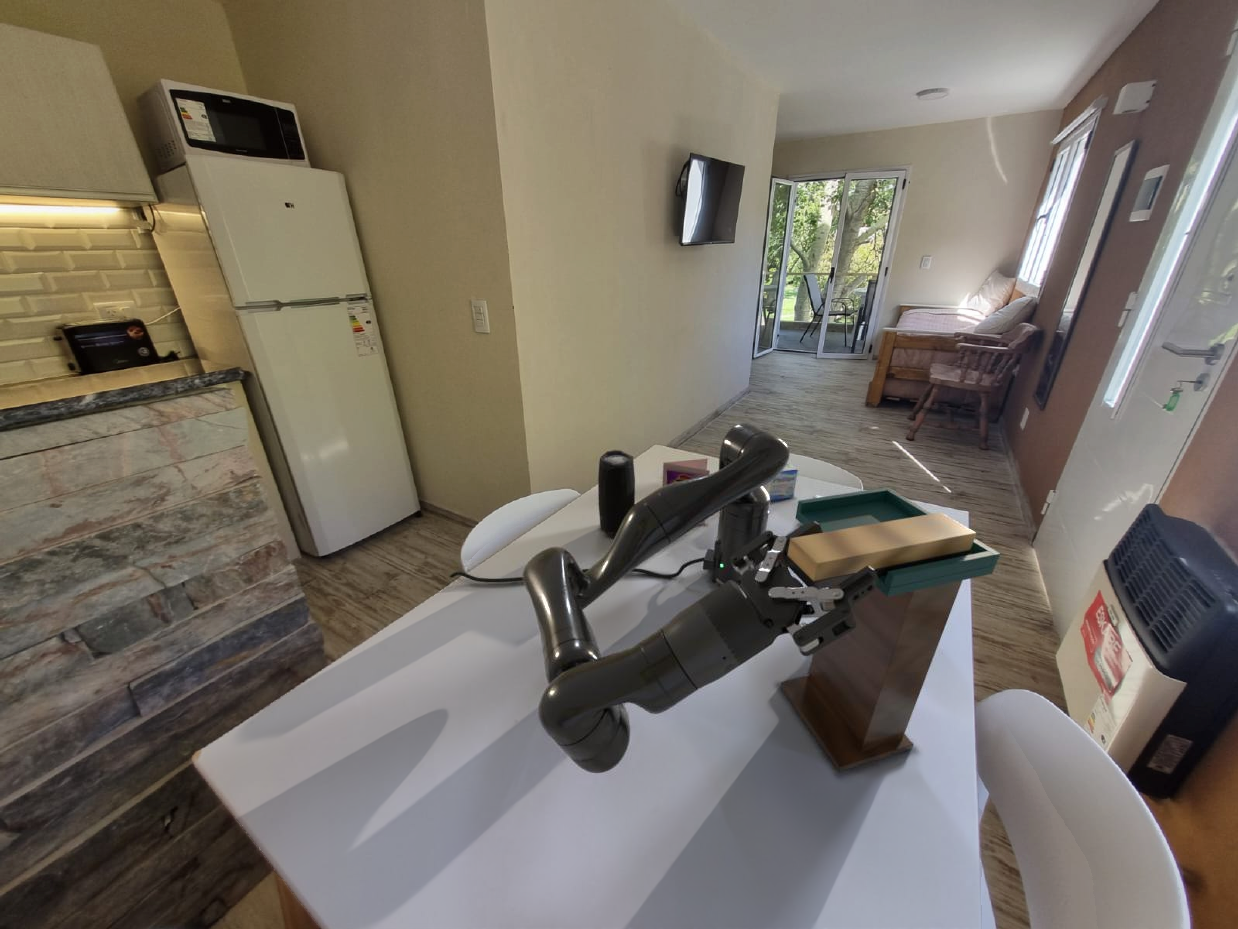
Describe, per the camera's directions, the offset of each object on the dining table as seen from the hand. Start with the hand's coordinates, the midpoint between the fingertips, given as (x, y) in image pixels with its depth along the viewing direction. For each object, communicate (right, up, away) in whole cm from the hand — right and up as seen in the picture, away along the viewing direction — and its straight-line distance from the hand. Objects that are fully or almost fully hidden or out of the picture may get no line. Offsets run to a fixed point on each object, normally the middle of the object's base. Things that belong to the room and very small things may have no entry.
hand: (844, 548), depth 50 cm
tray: (+8, -1, +7) cm, 11 cm away
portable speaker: (-24, -7, +67) cm, 71 cm away
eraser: (+5, -2, +2) cm, 6 cm away
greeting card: (-7, -4, +73) cm, 74 cm away
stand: (+8, -29, +21) cm, 36 cm away
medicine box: (+20, 0, +82) cm, 85 cm away
